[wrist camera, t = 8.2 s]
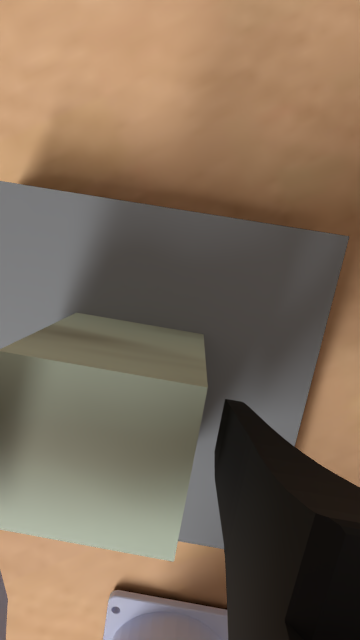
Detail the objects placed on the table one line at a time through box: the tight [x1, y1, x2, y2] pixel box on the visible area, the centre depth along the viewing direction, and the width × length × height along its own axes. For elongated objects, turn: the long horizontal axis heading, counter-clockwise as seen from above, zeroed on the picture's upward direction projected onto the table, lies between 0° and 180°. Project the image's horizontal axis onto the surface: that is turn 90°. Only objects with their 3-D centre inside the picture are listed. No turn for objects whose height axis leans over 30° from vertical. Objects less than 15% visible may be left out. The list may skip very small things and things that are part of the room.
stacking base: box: [0, 181, 349, 549], centre depth 14 cm, size 14×14×3 cm
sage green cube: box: [0, 313, 208, 562], centre depth 10 cm, size 5×5×5 cm
